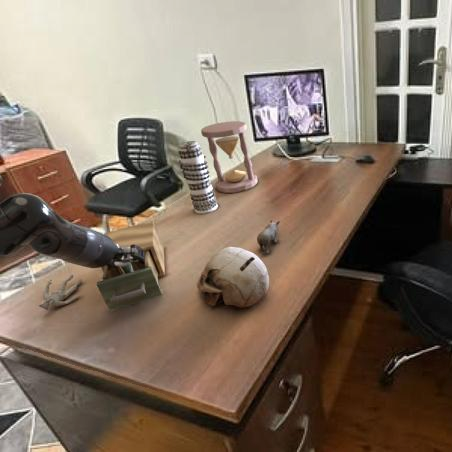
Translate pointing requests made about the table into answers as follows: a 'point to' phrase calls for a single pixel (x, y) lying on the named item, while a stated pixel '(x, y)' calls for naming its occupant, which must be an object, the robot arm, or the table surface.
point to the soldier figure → (59, 294)
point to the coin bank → (233, 278)
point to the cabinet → (141, 241)
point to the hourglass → (230, 155)
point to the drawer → (130, 284)
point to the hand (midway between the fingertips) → (128, 261)
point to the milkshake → (126, 267)
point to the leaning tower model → (197, 177)
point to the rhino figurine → (268, 236)
